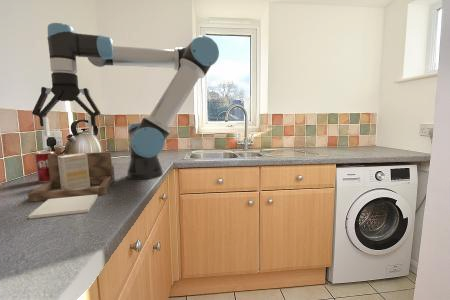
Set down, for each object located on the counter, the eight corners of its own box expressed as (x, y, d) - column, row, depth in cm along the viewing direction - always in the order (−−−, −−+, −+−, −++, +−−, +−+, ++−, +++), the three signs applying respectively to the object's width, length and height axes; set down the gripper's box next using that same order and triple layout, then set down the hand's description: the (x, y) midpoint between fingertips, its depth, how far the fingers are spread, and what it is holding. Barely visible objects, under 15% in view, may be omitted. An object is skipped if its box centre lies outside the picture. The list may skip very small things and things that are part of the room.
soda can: (36, 180, 104) (32, 152, 103) (56, 177, 110) (53, 150, 108) (40, 183, 99) (36, 154, 98) (61, 180, 105) (58, 152, 103)
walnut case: (115, 180, 104) (112, 151, 103) (107, 194, 85) (105, 159, 83) (52, 185, 97) (48, 154, 96) (29, 201, 78) (24, 164, 77)
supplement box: (85, 186, 95) (82, 152, 93) (90, 188, 92) (87, 153, 90) (60, 191, 88) (56, 155, 87) (65, 194, 85) (61, 156, 84)
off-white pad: (97, 196, 82) (97, 194, 82) (88, 211, 69) (88, 209, 69) (48, 201, 78) (48, 199, 78) (28, 218, 65) (28, 215, 65)
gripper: (106, 76, 92) (110, 133, 95) (25, 73, 84) (32, 135, 87) (102, 73, 85) (107, 135, 87) (14, 69, 77) (22, 137, 80)
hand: (69, 135), depth 87 cm, fingers open, 13 cm apart
